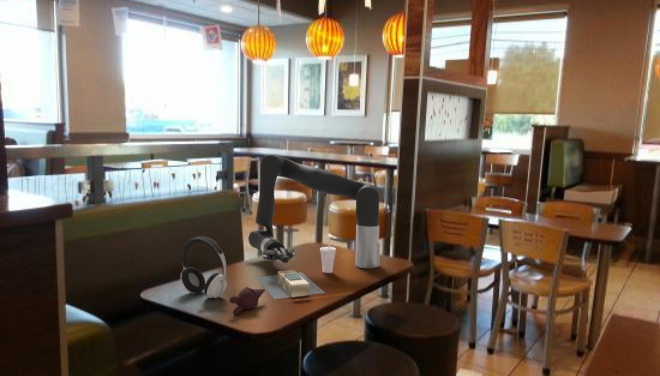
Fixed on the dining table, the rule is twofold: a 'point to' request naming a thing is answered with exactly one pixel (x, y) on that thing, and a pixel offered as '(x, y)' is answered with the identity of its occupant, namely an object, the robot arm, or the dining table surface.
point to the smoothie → (327, 258)
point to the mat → (279, 292)
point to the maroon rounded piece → (246, 299)
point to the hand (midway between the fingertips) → (286, 260)
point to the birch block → (293, 283)
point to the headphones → (195, 279)
